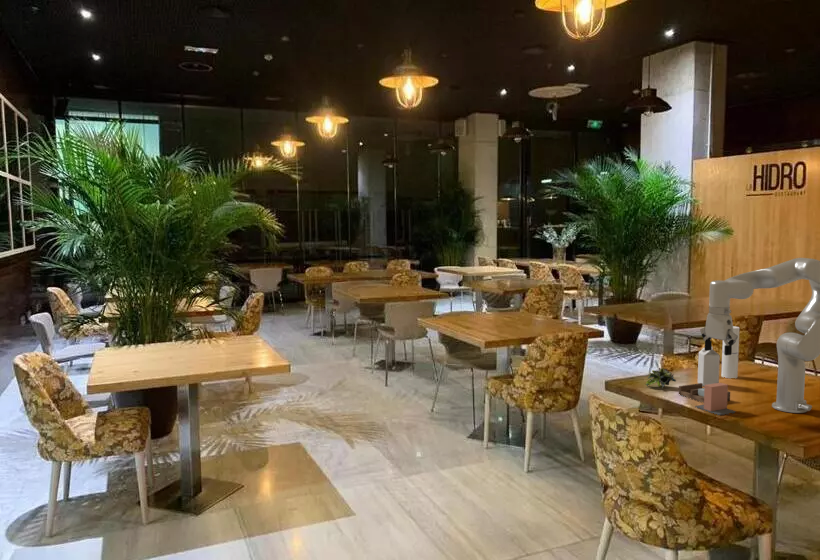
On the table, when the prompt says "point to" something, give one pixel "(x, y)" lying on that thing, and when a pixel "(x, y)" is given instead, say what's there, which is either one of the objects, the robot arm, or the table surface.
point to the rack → (694, 392)
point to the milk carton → (708, 367)
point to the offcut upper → (701, 391)
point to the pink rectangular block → (715, 396)
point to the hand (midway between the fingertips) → (717, 352)
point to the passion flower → (660, 377)
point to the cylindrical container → (731, 358)
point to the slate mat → (718, 412)
